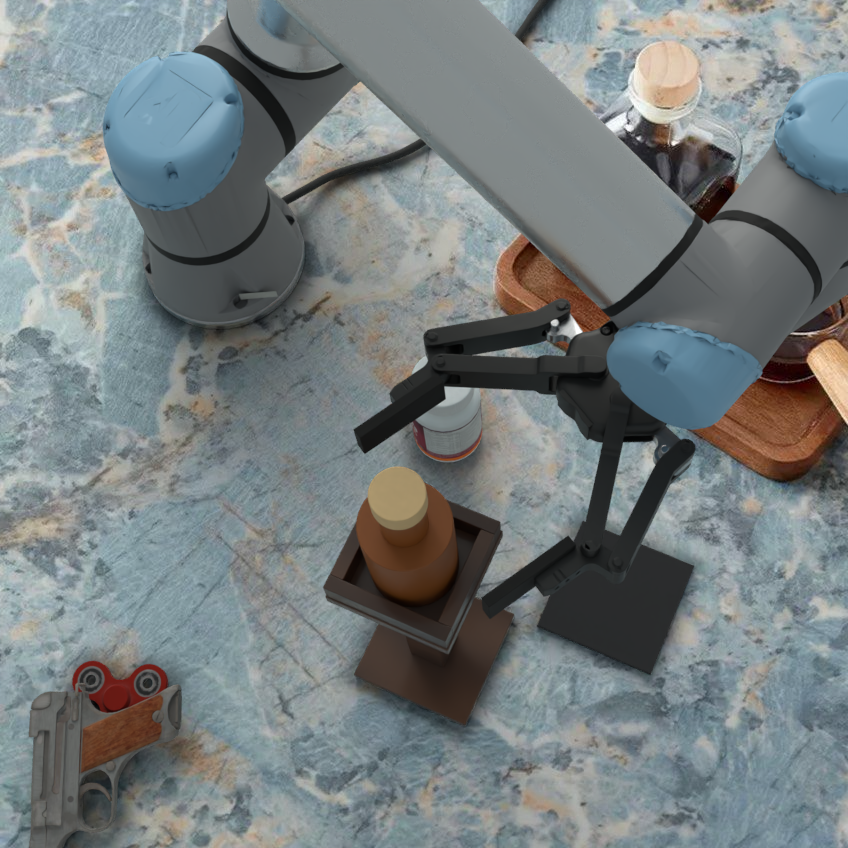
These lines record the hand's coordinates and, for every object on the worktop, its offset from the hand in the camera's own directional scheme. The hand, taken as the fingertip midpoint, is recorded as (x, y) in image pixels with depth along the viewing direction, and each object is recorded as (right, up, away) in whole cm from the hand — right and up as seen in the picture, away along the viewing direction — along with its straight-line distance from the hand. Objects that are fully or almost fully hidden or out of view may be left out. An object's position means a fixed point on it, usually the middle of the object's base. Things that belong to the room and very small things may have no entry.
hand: (419, 523), depth 81 cm
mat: (+16, -8, +28) cm, 33 cm away
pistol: (-19, -24, +22) cm, 38 cm away
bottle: (0, -3, +6) cm, 7 cm away
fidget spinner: (-26, -16, +28) cm, 41 cm away
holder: (+1, -12, +27) cm, 30 cm away
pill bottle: (+2, +5, +35) cm, 36 cm away
